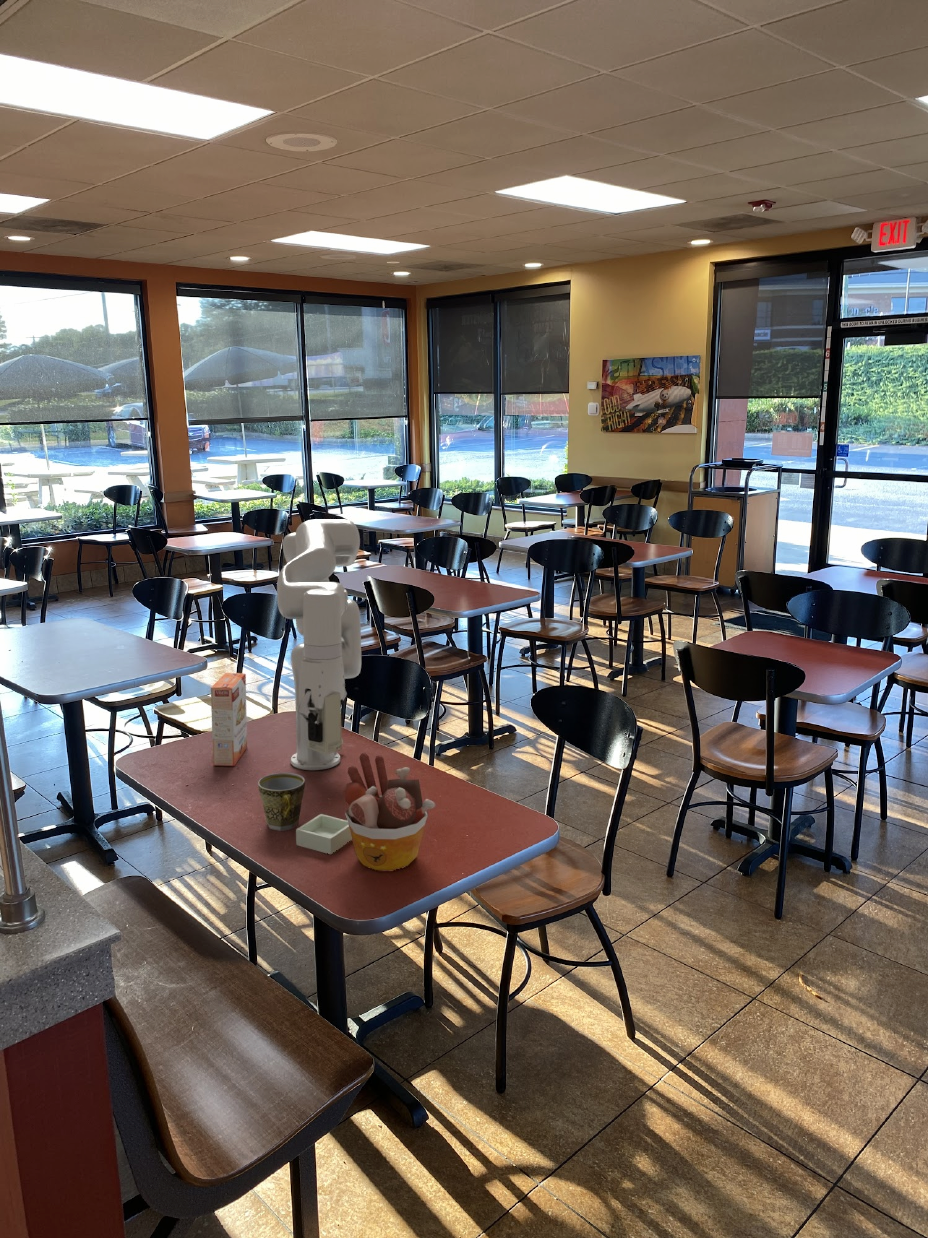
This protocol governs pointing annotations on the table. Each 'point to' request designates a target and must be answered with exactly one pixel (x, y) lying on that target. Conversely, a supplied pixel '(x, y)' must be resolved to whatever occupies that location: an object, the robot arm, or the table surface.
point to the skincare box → (329, 726)
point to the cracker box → (229, 719)
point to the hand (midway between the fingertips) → (324, 736)
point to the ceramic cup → (282, 799)
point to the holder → (324, 834)
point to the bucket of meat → (385, 816)
